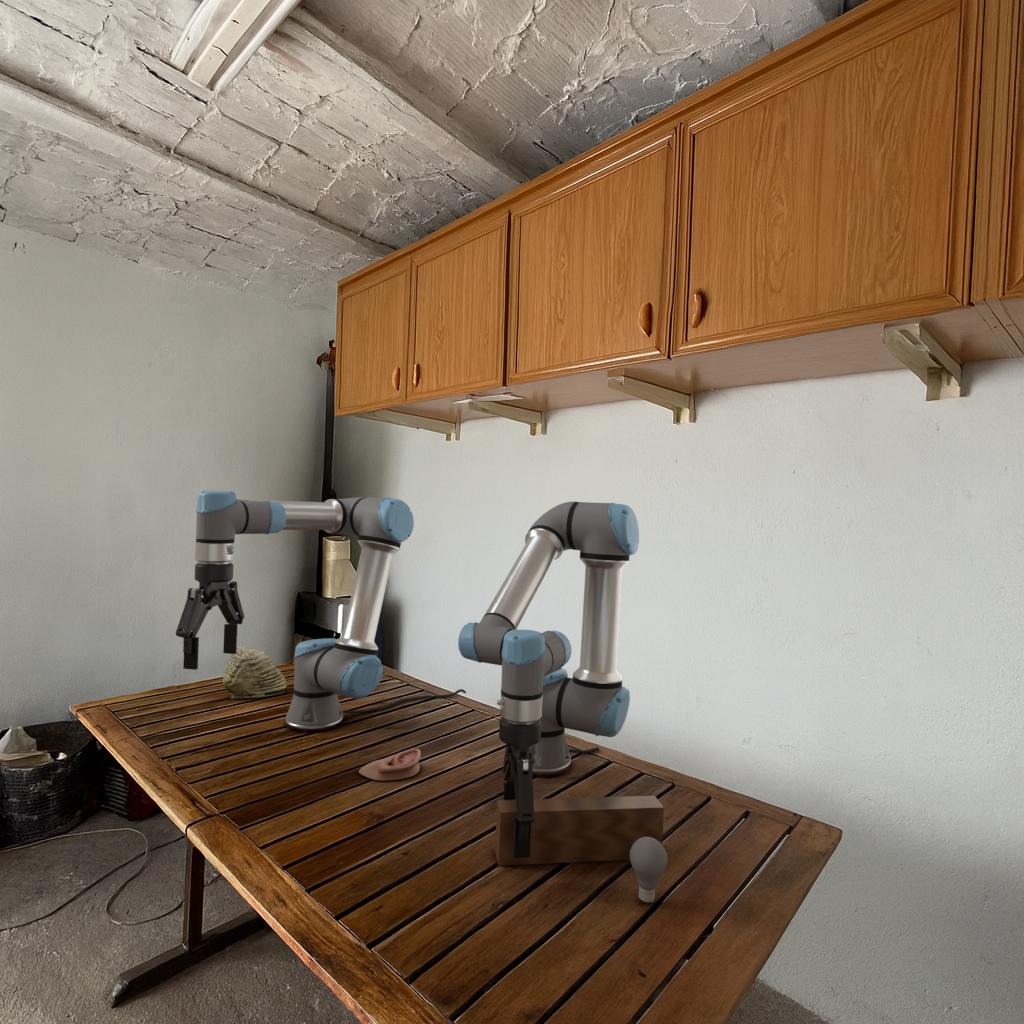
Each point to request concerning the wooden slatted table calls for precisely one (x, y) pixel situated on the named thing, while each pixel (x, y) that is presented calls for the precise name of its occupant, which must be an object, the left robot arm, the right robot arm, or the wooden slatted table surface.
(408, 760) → the anatomical model
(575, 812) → the bar
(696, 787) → the wooden slatted table surface
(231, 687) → the fossil
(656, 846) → the light bulb
